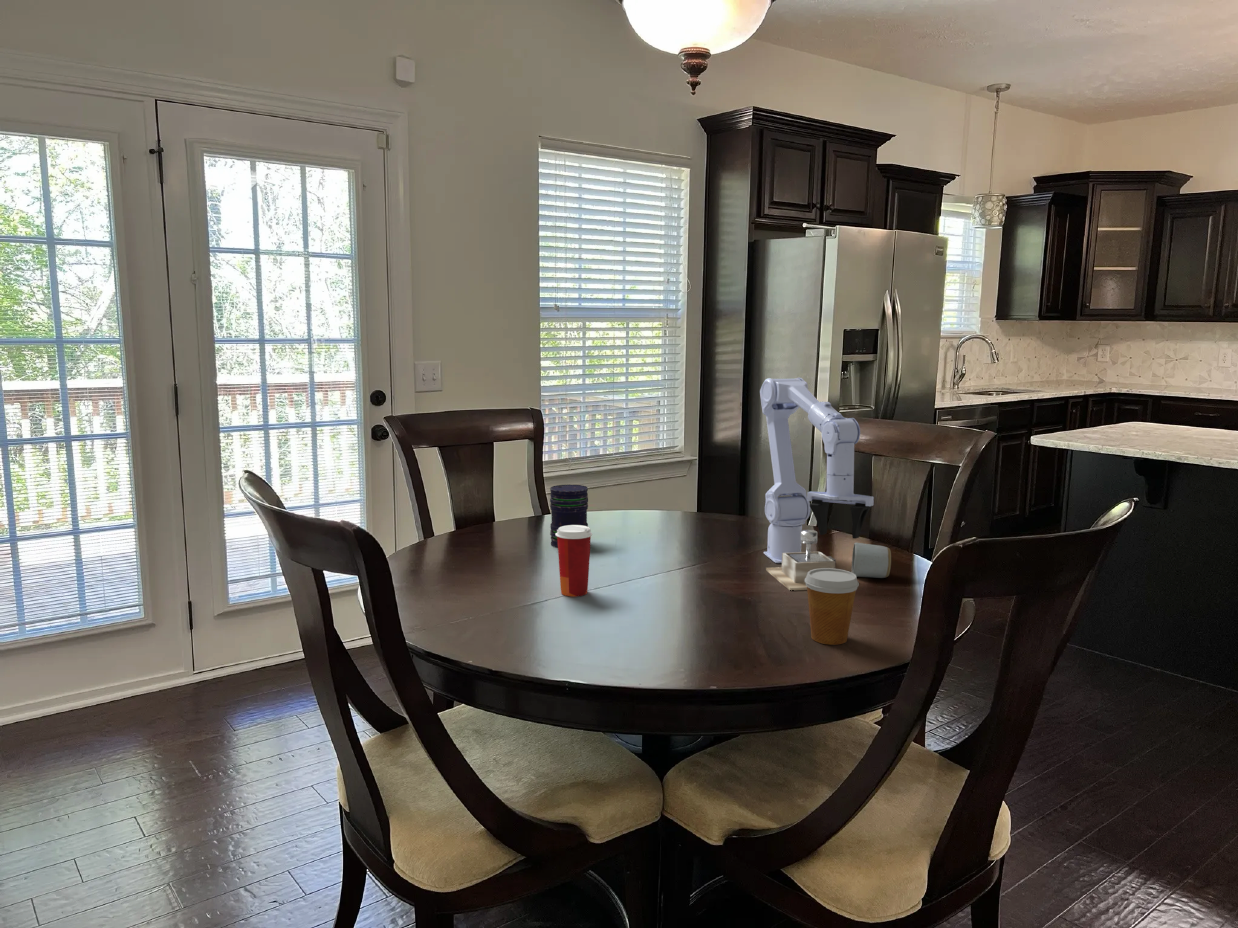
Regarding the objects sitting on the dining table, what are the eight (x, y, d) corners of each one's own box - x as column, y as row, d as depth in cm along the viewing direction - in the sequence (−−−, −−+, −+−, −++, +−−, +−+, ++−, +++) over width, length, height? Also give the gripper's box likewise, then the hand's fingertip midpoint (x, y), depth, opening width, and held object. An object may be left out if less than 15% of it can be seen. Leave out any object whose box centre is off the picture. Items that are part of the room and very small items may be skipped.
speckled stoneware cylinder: (891, 582, 191) (892, 548, 190) (853, 580, 193) (854, 546, 192) (885, 570, 201) (887, 538, 200) (849, 568, 203) (850, 536, 202)
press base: (766, 570, 200) (766, 549, 199) (823, 568, 202) (824, 547, 201) (789, 590, 185) (790, 568, 184) (851, 587, 187) (852, 565, 186)
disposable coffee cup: (795, 630, 160) (798, 567, 158) (845, 629, 161) (848, 566, 159) (811, 649, 151) (814, 582, 149) (864, 647, 151) (867, 581, 150)
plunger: (788, 556, 195) (789, 528, 194) (816, 555, 196) (817, 527, 195) (799, 564, 189) (800, 535, 188) (827, 563, 190) (828, 534, 189)
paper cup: (597, 589, 185) (597, 525, 183) (584, 599, 178) (584, 533, 176) (563, 585, 187) (563, 523, 185) (549, 595, 180) (549, 530, 178)
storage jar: (595, 542, 225) (595, 486, 223) (573, 550, 217) (573, 492, 215) (564, 537, 231) (564, 483, 228) (542, 545, 223) (542, 488, 220)
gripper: (801, 474, 188) (800, 535, 190) (864, 478, 179) (863, 542, 181) (815, 470, 194) (815, 530, 195) (878, 474, 185) (876, 537, 186)
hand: (839, 535), depth 188 cm, fingers open, 7 cm apart
